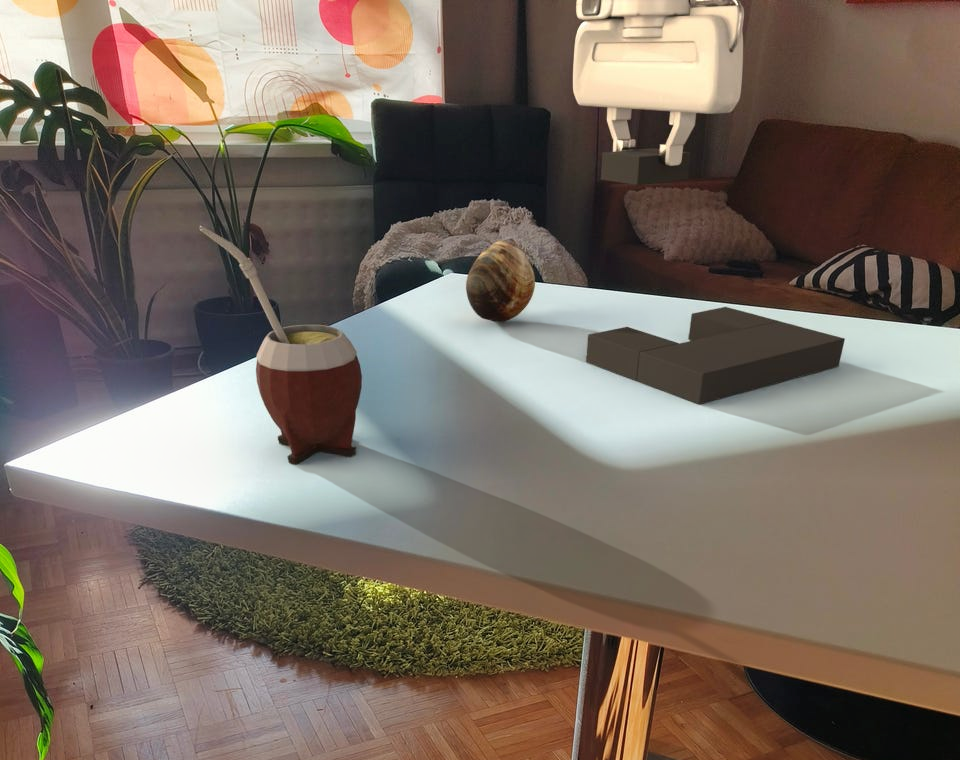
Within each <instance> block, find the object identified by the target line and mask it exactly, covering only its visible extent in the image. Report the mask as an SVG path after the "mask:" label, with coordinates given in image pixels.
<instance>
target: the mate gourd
mask: <svg viewBox="0 0 960 760" xmlns="http://www.w3.org/2000/svg"><path fill="white" fill-rule="evenodd" d="M199 230H200V232H202V233H203V234H204V235H206V236H207V237H208V238H210V239H211V240H212V241H214V242H215V243H216V244H218V245H219V246H221V247H222V248H223V249H224V250H226V251H227V252H228V253H229V254H230V255H231V256H232V257H233V258H234V259H236V260H237V262H238V263H239V268H240V270H241V271H242V273H243V275H244V277H245V279H248V280H249V282H250V284H251V287H252V288H253V291H254V293H255V295H256V297H257V298H258V301H259V303H260V305H261V307H262V310H263V311H264V313H265V315H266V318H267V320H268V321H269V324H270V325H271V328H272V329H273V330H272V331H269V333H267V334H266V336H265V337H264V339H263V340H262V343H261V344H260V346H259V349H258V351H257V353H256V365H255V375H256V377H255V378H256V383H257V389H258V391H259V394H260V397H261V400H262V403H263V405H264V406H265V409H266V411H267V412H268V415H269V416H270V418H271V420H272V421H273V423H274V424H275V425H276V426H277V428H278V429H279V430H280V433H281V434H280V435H278V436H277V441H278V444H279V445H284V446H289V448H290V451H291V453H290V454H289V455H287V461H288V463H289V464H293V465H298V464H300V463H302V462H303V461H305V460H308V459H309V458H310V457H311V456H314V455H315V454H317V453H327V454H332V455H337V456H338V455H339V456H343V457H349V458H350V457H354V456H355V455H357V451H356V450H357V447H356V446H352V445H353V436H354V431H355V426H356V421H357V419H356V418H357V408H358V406H359V402H360V398H361V392H362V389H363V388H362V386H363V375H362V368H361V363H360V360H359V357H358V352H357V350H356V348H355V346H354V345H353V343H352V342H351V340H350V339H349V338H348V336H347V335H346V334H345V333H344V332H343V331H342V330H341V329H340V328H337V327H334V326H330V325H323V324H298V325H290V326H289V325H288V326H284V327H282V325H281V323H280V321H279V319H278V317H277V315H276V313H275V310H274V308H273V306H272V304H271V302H270V300H269V298H268V296H267V294H266V292H265V290H264V287H263V286H262V283H261V281H260V279H259V277H258V271H257V269H256V266H255V265H254V263H253V262H252V260H251V258H250V257H247V256H246V255H245V253H244V252H242V250H241V249H239V248H238V246H236V245H235V244H234V243H233V242H231V241H229V240H228V239H226V238H225V237H222V236H220V235H219V234H217V233H215V232H213V231H212V230H210V229H208V228H206V227H204V226H202V225H199Z"/></svg>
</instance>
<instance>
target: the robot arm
mask: <svg viewBox="0 0 960 760" xmlns="http://www.w3.org/2000/svg"><path fill="white" fill-rule="evenodd" d="M575 3H576V6H575V11H576V17H577V18H578V19H579V20H581V21H583V22H582V23H581V24H580V25H579V27H578V29H577V32H576V35H575V41H574V51H573V66H572V90H573V91H572V93H573V95H574V98H575V100H576V103H577V104H578V106H582V107H595V108H596V107H598V108H606V109H607V110H606V123H607V125H608V129H609V132H610V135H611V138H612V140H613V142H612V152H615V151H627V150H635V148H636V143H637V141H636V139H634V138H633V139H631V138H632V137H631V134H630V129H629V123H628V121H630V120H631V119H632V110H642V111H643V110H645V111H659V112H669V121H668V124H669V125H670V126H672V128H671V131H670V133H669V136H668V138H667V139H666V142H665V143H662V144H659V148H658V149H659V153H660V156H659V163H660V164H662V165H669V166H673V165H679V164H680V163H681V161H682V152H684V151H683V150H684V145H685V144H686V142H687V140H688V139H689V137H690V135H691V133H692V131H693V130H694V128H695V126H696V119H697V114H706V115H707V114H708V115H710V114H711V115H712V114H727V113H728V114H729V113H731V112H732V111H733V110H734V109H735V107H736V106H737V104H738V103H739V102H740V100H741V99H740V98H741V93H742V84H743V83H742V82H743V68H744V67H743V66H744V65H743V64H744V35H743V27H744V18H745V10H744V6H742V3H741V1H740V0H576V2H575ZM732 4H734V5H732Z"/></svg>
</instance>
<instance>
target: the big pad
mask: <svg viewBox="0 0 960 760" xmlns="http://www.w3.org/2000/svg"><path fill="white" fill-rule="evenodd" d="M845 340H846V338H844V337H840V336H836V335H833V334H829V333H825V332H821V331H818V330H815V329H810V328H806V327H803V326H799V325H796V324H791V323H788V322H784V321H781V320H776V319H773V318H769V317H765V316H762V315H759V314H755V313H754V314H753V313H750V312H746V311H744V310H739V309H736V308H731V307H728V306H722V307H718V308H713V309H708V310H702V311H698V312H692V313H691V316H690V324H689V332H688V341H684V342H680V343H679V342H677V341H673V340H670V339H667V338H664V337H661V336H657V335H655V334H651V333H649V332H646V331H642V330H639V329H635V328H632V327H629V326H624V327H619V328H618V327H617V328H614V329H609V330H605V331H604V330H603V331H599V332H593V333H589V334H587V341H586V342H587V343H586V344H587V345H586V358H585V363H587V364H590V365H593V366H595V367H598V368H601V369H604V370H606V371H609V372H612V373H614V374H617V375H619V376H622V377H625V378H626V379H627V378H628V379H631V380H633V381H636V382H639V383H641V384H643V385H647V386H649V387H651V388H655V389H657V390H660V391H663V392H666V393H668V394H670V393H671V395H673V396H676V397H678V396H680V397H679V398H681V397H682V398H681V399H683V400H686V399H687V401H689V400H690V401H689V402H691V403H694V404H698V405H701V404H704V403H709V402H713V401H716V400H720V399H723V398H728V397H730V396H731V397H732V396H734V395H737V394H742V393H747V392H749V391H753V390H756V389H761V388H764V387H767V386H771V385H774V384H779V383H783V382H786V381H790V380H793V379H797V378H801V377H805V376H808V375H812V374H815V373H819V372H822V371H826V370H830V369H831V370H832V369H835V368H838V367H839V366H840V362H841V358H842V355H843V349H844V345H845Z"/></svg>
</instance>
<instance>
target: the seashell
mask: <svg viewBox="0 0 960 760" xmlns="http://www.w3.org/2000/svg"><path fill="white" fill-rule="evenodd" d="M466 277H467V278H466V281H465V290H466V291H465V292H466V297H467V300H468V303H469V305H470V307H471V309H472V310H473V312H474V314H476V315H477V316H478V317H479V318H481V319H483V320H487V321H491V322H493V323H506V322H508V321H510V320H513V319H514V318H516V317H517V316H519V315H520V314H521V313H522V312H523V311H524V310H525V309H526V307H527V306H528V305H529V303H530V301H531V300H532V298H533V295H534V292H535V288H536V277H535V272H534V269H533V267H532V265H531V263H530V262H529V260H528V258H527V256H526V254H525V252H524V251H523V249H522V248H521V246H520V245H519V243H518V242H517V241H516V240H515V239H514V238H513V237H511V236H507V237H504V238H501V239H499V240H498V241H496V242H494V243H493V244H491V245H490V246H488V247H487V248H486V249H485V250H484V251H482V252H481V253H480V255H479V256H478V257H477V258H476V259H475V261H474V262H473V264H472V266H471V267H470V269H469V272H468V274H467V276H466Z"/></svg>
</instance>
